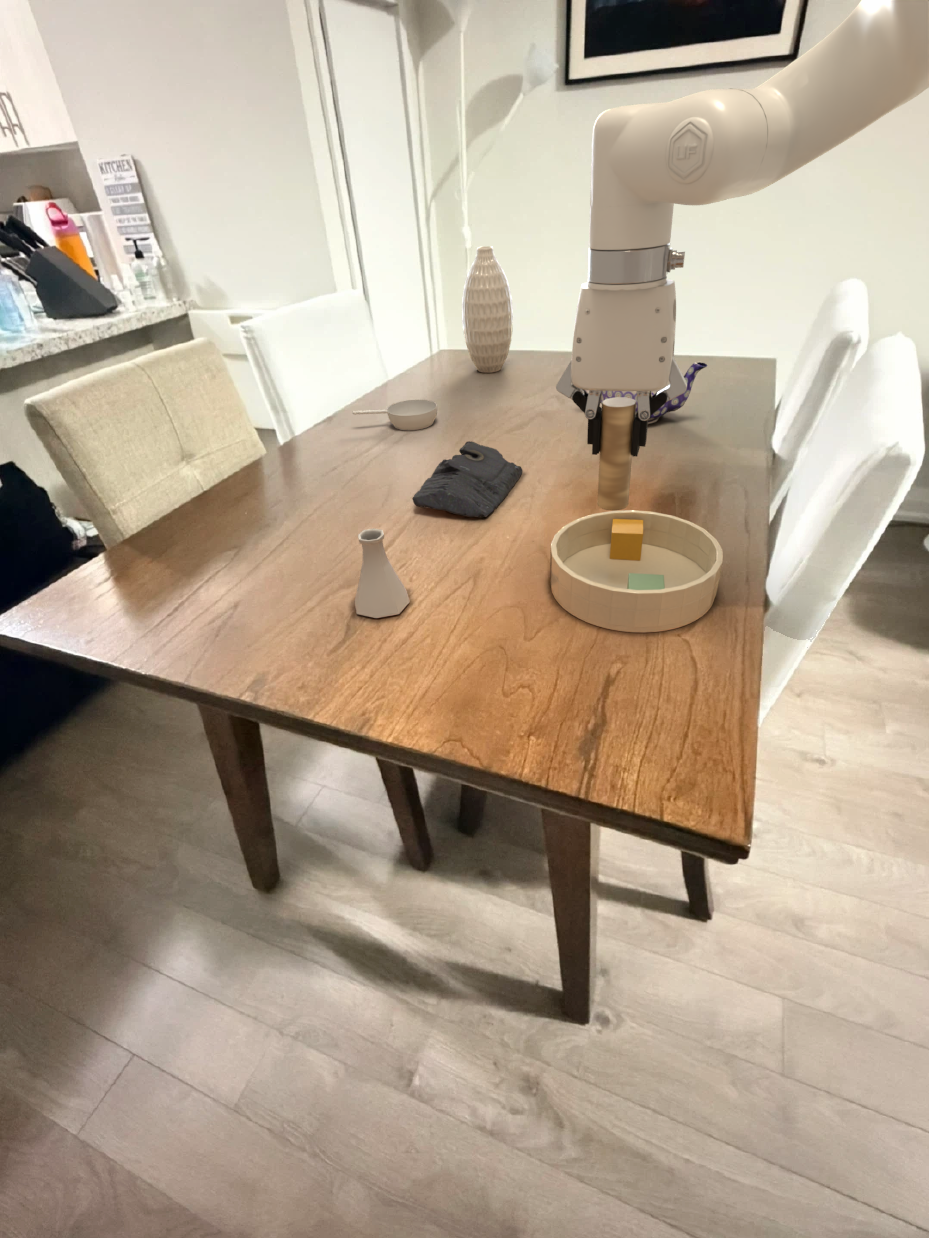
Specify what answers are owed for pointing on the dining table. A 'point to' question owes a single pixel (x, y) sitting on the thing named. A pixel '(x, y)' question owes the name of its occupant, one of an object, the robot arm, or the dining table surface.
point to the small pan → (408, 414)
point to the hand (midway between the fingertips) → (616, 449)
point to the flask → (378, 580)
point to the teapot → (671, 404)
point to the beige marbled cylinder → (615, 453)
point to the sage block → (645, 581)
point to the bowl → (601, 582)
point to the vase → (487, 312)
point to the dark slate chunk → (469, 482)
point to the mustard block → (626, 539)
